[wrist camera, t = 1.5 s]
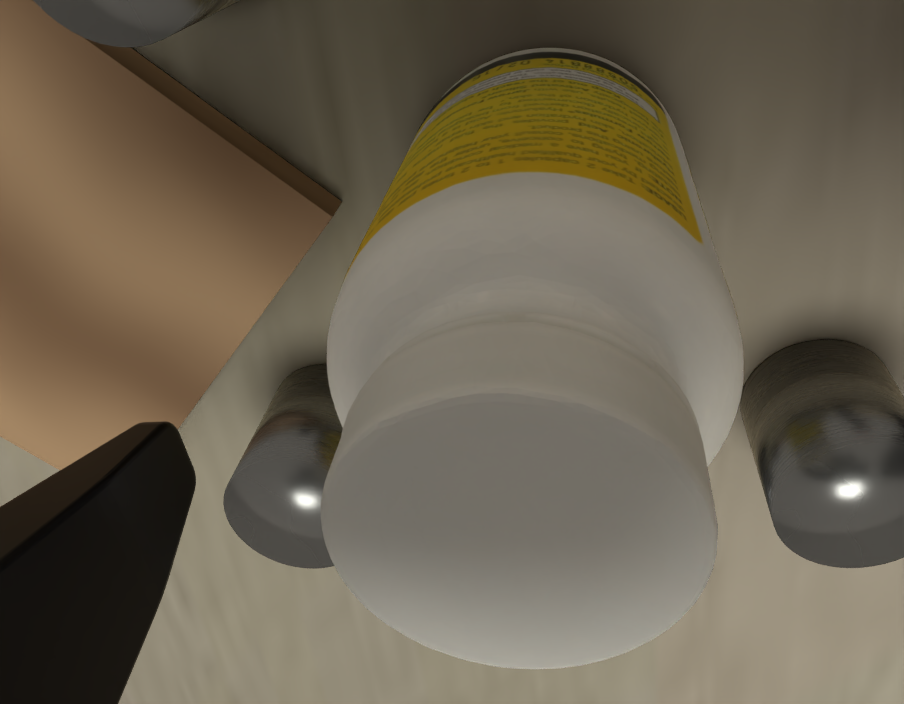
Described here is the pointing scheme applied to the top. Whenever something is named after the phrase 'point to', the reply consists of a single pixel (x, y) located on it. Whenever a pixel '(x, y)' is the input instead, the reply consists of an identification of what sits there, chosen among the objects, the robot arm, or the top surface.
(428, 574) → the supplement bottle
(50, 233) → the tan square slab
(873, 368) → the grey rounded cylinders
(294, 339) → the top surface
